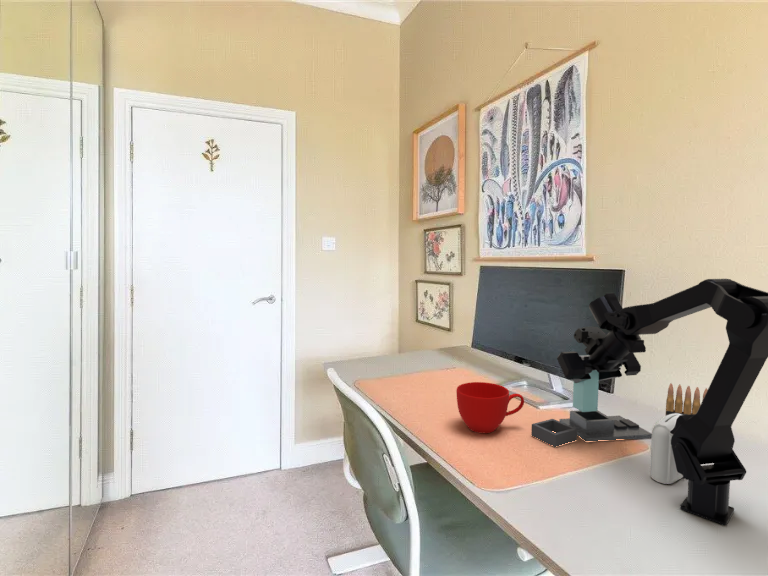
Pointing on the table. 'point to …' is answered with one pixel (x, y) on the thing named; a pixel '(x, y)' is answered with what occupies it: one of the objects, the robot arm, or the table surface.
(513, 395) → the ceramic cup
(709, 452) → the robot arm
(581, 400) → the aqua plug
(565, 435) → the box
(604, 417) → the switch
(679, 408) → the ammunition clip
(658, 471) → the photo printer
